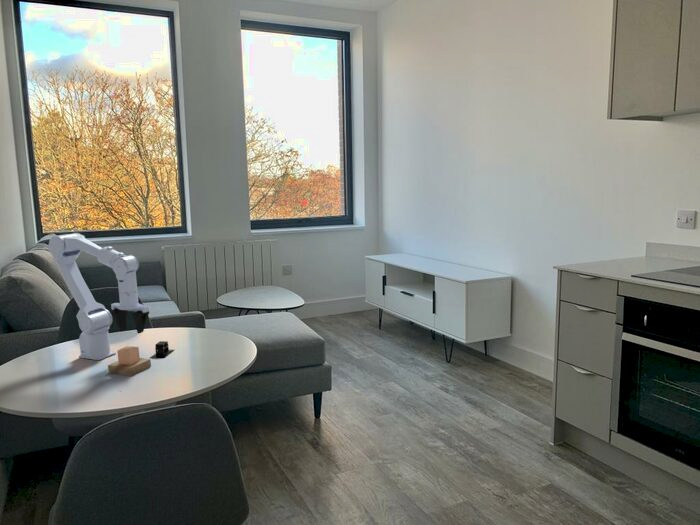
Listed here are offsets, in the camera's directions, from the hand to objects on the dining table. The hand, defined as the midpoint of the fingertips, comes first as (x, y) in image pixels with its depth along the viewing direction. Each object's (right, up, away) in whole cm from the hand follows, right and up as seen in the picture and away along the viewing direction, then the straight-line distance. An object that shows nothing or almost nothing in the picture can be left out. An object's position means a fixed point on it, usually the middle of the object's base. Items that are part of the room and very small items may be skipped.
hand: (131, 331), depth 182 cm
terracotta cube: (+3, -9, -8) cm, 12 cm away
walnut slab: (+3, -12, -8) cm, 14 cm away
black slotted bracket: (+8, -9, +7) cm, 14 cm away
